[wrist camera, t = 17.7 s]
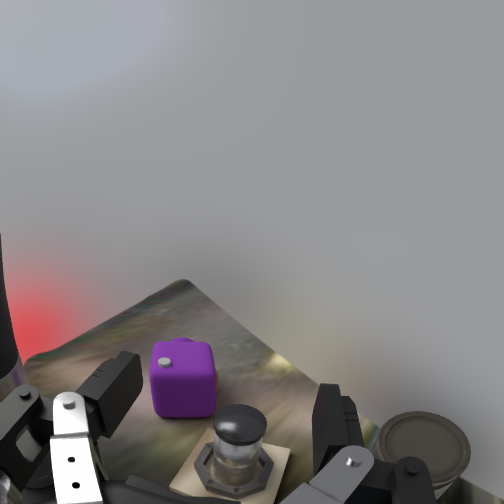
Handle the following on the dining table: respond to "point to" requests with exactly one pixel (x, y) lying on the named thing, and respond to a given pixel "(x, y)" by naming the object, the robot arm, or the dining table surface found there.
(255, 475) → the beige board with ring
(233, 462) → the black lidded glass jar
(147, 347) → the dining table surface
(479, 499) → the dining table surface
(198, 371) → the toy camera
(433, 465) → the coffee can
